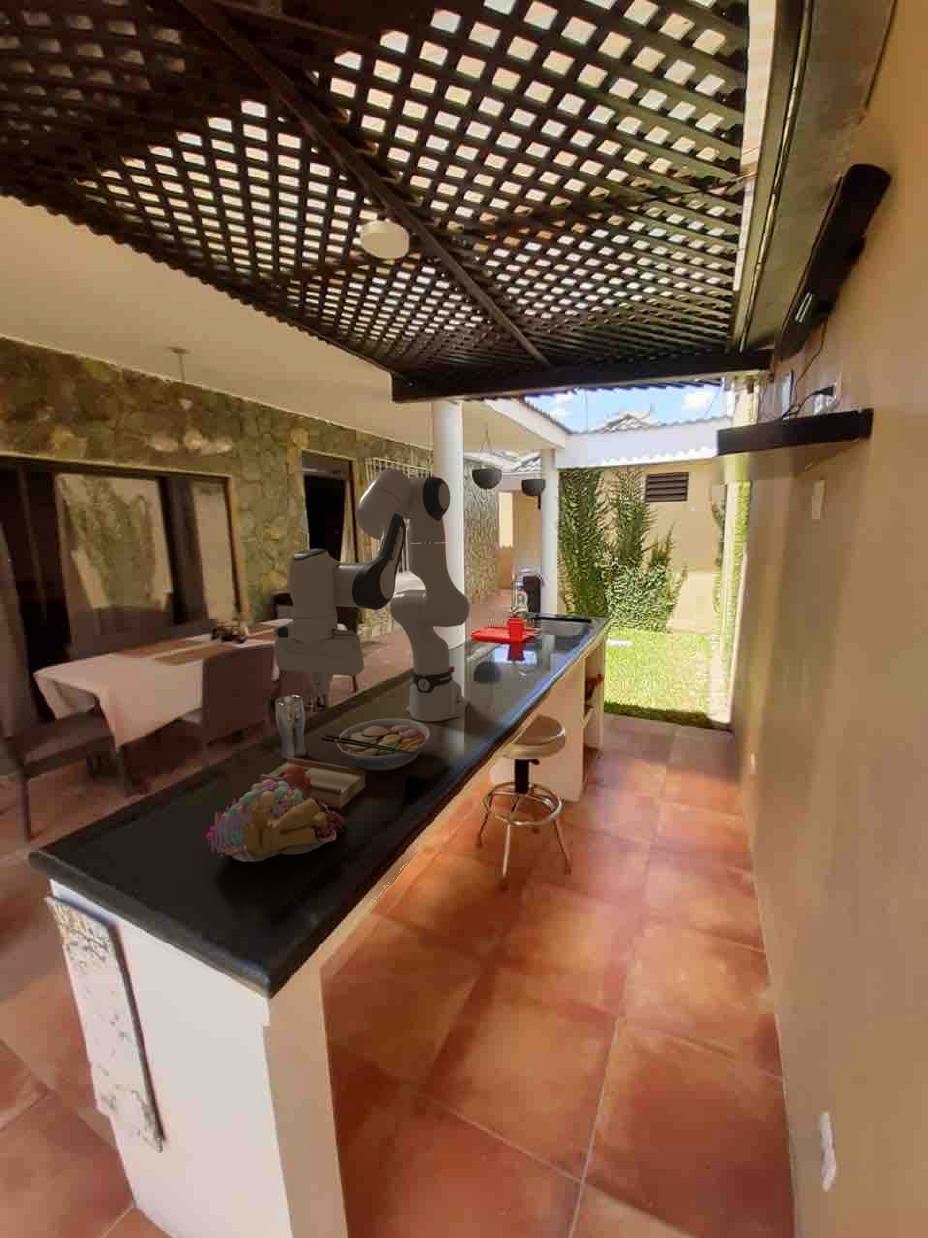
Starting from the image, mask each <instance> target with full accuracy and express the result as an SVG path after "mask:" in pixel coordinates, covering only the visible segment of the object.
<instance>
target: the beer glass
mask: <svg viewBox="0 0 928 1238" xmlns="http://www.w3.org/2000/svg"><path fill="white" fill-rule="evenodd" d="M303 701H304V700H303V697H302V696H301V695H296V694H294V695H293V694H292V695H284V696H282V697H279V698H276V700H275V701H274V702H275V703H274V704H275V720H276V724H277V728H278V733H279V735H280V738H281V743H282V747H281V748H282V749H281V751H282V752H281V758H283V759H285V760H287V758H288V757H294V758H299V759H300V758H302V757H304V756H305V755H306V754H307V749H306V746H305V741H304V733H305V721H306V719H305V718H306V715H305V706H304V702H303Z"/></svg>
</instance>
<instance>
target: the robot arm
mask: <svg viewBox="0 0 928 1238" xmlns="http://www.w3.org/2000/svg"><path fill="white" fill-rule="evenodd" d="M450 492H451V491H450V487H449V485H448V483H447V482H446V481H445V480H444V479H443V478H441V477H437V476H428V477H427V476H426V477H423V476H412V477H411V476H410V477H408V476H407V475H406V473H404V472H403V471H401V470H399V469H396V468H385V469H383V470H382V471H380V472H379V473H378V474H377V475H376V476H375V477H374V478H373V479H372V480H371V482H369V484H368V485H367V487H366V488H365V490H364V492H363V493H362V494H361V496H360V498H359V500H358V501H357V503H356V506H355V511H354V513H355V514H354V515H355V519H356V523H357V524H358V526H359V527H360V529H361V530H362V531H363V532H364V533H365V534H366V535H367V536H369V537H370V538H372V539H375V540H378V541H379V544H378V546H377V550H376V552H375V556H374V558H372V559H371V560H368V561H365V562H341V561H338V560H337V559H334V558H333V557H332V556H330V554H329V552H328V550H326V549H324V548H309V549H304V550H300V551H298V552H295V553H294V554H293V555H291V556H290V560H289V565H288V584H289V585H288V586H289V596H290V598H291V601H292V605H293V606H292V613H291V614H292V615H291V617H292V621H289V622H288V623H285V624H283V625H279V626H277V627H275V628H274V629H273V634H274V635H273V636H274V637H275V641H274V659H275V664H276V666H277V667H278V669H279V670H282V671H291V672H292V671H293V672H304V673H306V676H307V679H308V680H309V682H310V683H311V685H312V687H313V688H312V689H313V692H314V693H322V694H327V693H328V692H330V691H331V688H330V684H331V681H332V680H333V677H334V675H336V676H337V675H338V676H344V677H345V676H347V677H354V676H355V677H356V675H359V674H361V673H362V672H363V670H364V669H365V662H364V657H363V652H362V646H361V639H360V636H359V635H358V634H357V633H355V632H354V631H353V630H351V629H346V630H343V629H339V625H338V613H337V609H336V607H344V608H345V607H346V608H361V609H366V610H374V611H378V610H379V611H380V610H381V609H383V608H384V607H386V606H387V605H388V604H389V612H390V615H391V617H392V618H393V620H394V621H395V622H396V623H398V625H400V627H402V629H403V631H404V632H405V634H406V636H407V637H408V640H409V643H410V646H411V652H412V653H411V654H412V661H413V670H412V674H411V677H412V683H413V684H411V685H410V687H409V705H408V706H407V707H406V710H405V711H406V712H407V713H409V714H410V716H411V718H413V719H414V720H417V721H421V722H441V721H445V720H449V719H454V718H456V719H457V718H461V717H462V716H463V714H464V712H465V710H466V708H467V706H468V704H469V702H470V700H469V697H466V696H463V694H462V686H461V685H460V684H459V683H458V682H457V681H455V680H454V678H453V673H455V666H453V665H452V666H451V665H450V649H449V644H448V643H447V642H446V640H445V639H443V638H442V637H440V636H439V635H438V634H437V632H436V631H435V629H434V627H437V628H438V627H439V628H451V627H453V628H454V627H458V626H462V625H464V624H465V622H466V621H467V619H468V617H469V614H470V604H469V601H468V598H467V597H466V595H465V594H464V593H462V592H461V591H460V590H459V589H458V587H456V585H455V584H454V582H453V580H452V579H451V576H450V574H449V573H450V572H449V570H448V563H447V551H446V550H447V549H446V547H447V546H446V532H445V525H444V518H443V516H444V515H446V514H447V511H448V510H449V508H450V504H451V493H450ZM406 520H409V521H408V531H407V526H406ZM406 537H407V543H408V545H407V546H408V547H407V549H408V568H409V570H410V572H411V574H413V575H414V576H415V577H417V578H418V579H420V580H421V582H422V583H423V586H424V589H405V590H401V591H398V592H396V591H395V590H396V579H397V572H398V569H399V564H400V561H401V557H402V553H403V549H404V546H405V540H406ZM395 592H396V593H395ZM389 602H390V603H389ZM320 674H321V678H322V679H323V681H321V680H320V678H319V676H318V675H320Z"/></svg>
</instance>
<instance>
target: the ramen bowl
mask: <svg viewBox="0 0 928 1238" xmlns="http://www.w3.org/2000/svg"><path fill="white" fill-rule="evenodd" d="M430 737H431V732H430V727H428V726H426V725H425V724H424V723H422V722H420V721H418V720H417V721H416V720H412V719H408V718H394V717H393V718H392V717H391V718H389V717H388V718H380V719H379V718H378V719H377V718H376V719H374V720H372V719H371V720H367V721H364V722H361V723H358V724H357V723H356V724H354V725H353V726H351V727H348V728H346V729H345V730H344V731H342V732H341V733H340V734H339V735H335V734H329V733H326V736H322V737H321V738H320V739H321V741H324V742H332V743H336V747H338V750H339V751H340V752H341V753H342V754H343V755H344V756H345V758H346V759H347V760H348V761H349V762H350V763H351V764H353V765H355V766H357V767H360V768H363V769H364V770H369V771H388V770H390V771H391V770H393V769H398V768H400V767H403V766H405V765H407V764H408V763H410V762H412V761H413V760H416V758H418V756H419V755H420V754H421V753H422V751H423V749H424V748H425V747H426V744H427V743H428V742H429V739H430Z"/></svg>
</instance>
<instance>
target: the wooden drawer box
mask: <svg viewBox="0 0 928 1238" xmlns="http://www.w3.org/2000/svg"><path fill="white" fill-rule="evenodd" d="M295 764H297V765H300V766H302V767H303V768H304V770H305V776H307V777H309V778H310V781H311V782H310V785H309V788H310V789H311V794H310V796H311V798H316V799H319V800H320V801H321V802H324V804H325V805H327V806H328V807H330V808H335V809H340V810H341V809H342V808H343V807H344V806H345V805H346V804H348V802H350V801H351V799H353V798H354V797H355V796H356V795H358V793H360V792H361V791H362V790H363V789H364V788H365V787H366V778H365V776H366V775H365V769H361V768H356V767H351V766H344V765H338V764H334V763H333V764H332V763H329V762H328V763H327V762H322V761H321V762H320V761H315V760H311V759H304V758H300V757H299V758H294V757H288V758H287V759H286V762H285V763H284V764H282V765H280V766H279V767H278V768H276V769H274V770H273V771H271V772H270V773H268V774H266V773H261V774H259V779H260V780H259V781H260V782H259V783H262V782H263V781H264V780H266V779H271V780H273V781H274V782H280V781H281V778H282V777H283V776H284V775H285V771H286V770H287V768H288V767H290V766H291V765H295ZM290 788H291V790H295V789H298V790H299V791H300V792H302V794H303V796H306V797H308V798H309V795H306V794H304V789H300V788H299V787H298V786H297V785H292V786H291V787H290Z"/></svg>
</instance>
